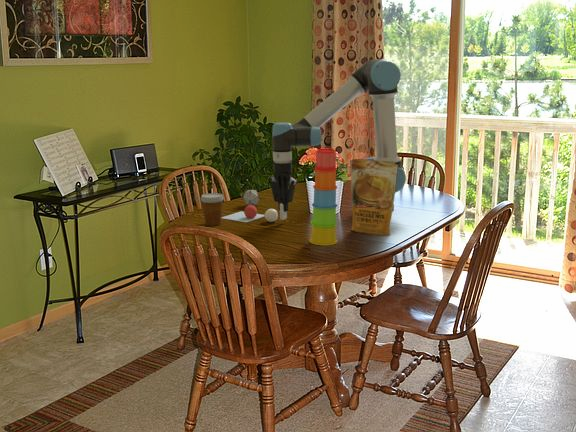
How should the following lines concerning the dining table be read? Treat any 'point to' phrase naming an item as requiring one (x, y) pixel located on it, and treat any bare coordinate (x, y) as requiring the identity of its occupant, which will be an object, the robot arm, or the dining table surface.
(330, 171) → the stacking cups
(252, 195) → the game die
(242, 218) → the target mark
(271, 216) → the cue ball
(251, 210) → the red ball
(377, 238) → the dining table surface
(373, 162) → the pancake mix bag
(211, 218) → the disposable coffee cup
